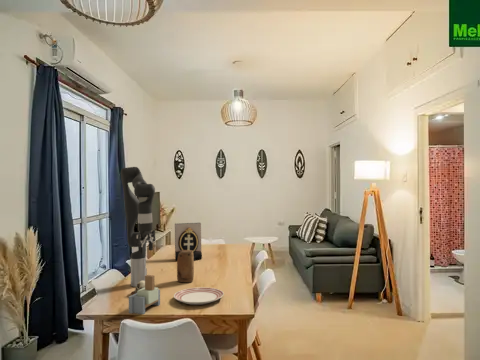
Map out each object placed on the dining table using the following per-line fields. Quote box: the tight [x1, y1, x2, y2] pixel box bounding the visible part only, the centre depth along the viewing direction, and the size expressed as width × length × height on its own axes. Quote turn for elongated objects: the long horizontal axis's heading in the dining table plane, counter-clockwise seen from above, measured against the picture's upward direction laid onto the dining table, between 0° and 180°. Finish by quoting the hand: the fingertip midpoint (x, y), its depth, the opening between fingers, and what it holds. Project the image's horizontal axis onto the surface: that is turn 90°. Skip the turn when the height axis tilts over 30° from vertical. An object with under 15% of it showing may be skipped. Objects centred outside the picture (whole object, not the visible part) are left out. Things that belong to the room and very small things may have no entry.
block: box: [176, 250, 195, 283], centre depth 226 cm, size 11×8×20 cm
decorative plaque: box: [174, 222, 203, 262], centre depth 290 cm, size 21×11×30 cm, turn 104°
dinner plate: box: [173, 286, 225, 306], centre depth 192 cm, size 28×27×3 cm
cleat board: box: [128, 288, 161, 315], centre depth 179 cm, size 8×16×8 cm, turn 158°
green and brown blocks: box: [137, 274, 159, 304], centre depth 178 cm, size 7×8×13 cm
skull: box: [130, 281, 145, 296], centre depth 203 cm, size 12×10×10 cm
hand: (145, 252), depth 184 cm, fingers open, 8 cm apart
